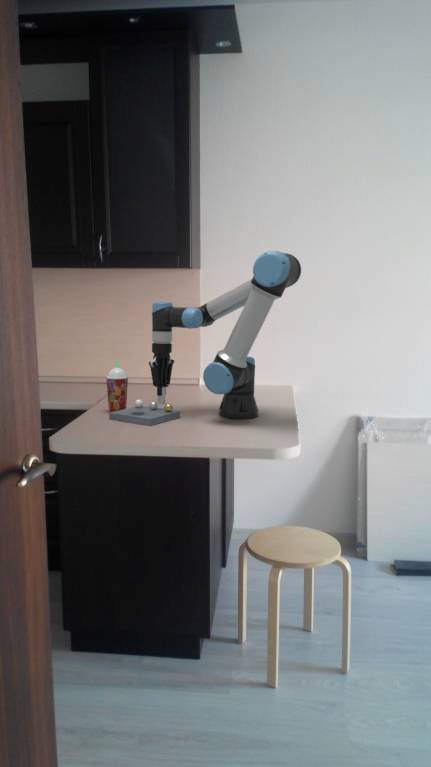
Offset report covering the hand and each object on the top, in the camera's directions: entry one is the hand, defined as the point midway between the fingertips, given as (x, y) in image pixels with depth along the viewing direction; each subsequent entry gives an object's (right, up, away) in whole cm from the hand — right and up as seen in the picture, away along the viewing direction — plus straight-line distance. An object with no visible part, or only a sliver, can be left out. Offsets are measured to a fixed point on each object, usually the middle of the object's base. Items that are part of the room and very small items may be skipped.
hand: (161, 403), depth 226 cm
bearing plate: (-5, -5, -8) cm, 11 cm away
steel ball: (-3, -1, -5) cm, 5 cm away
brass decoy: (+3, -1, -8) cm, 9 cm away
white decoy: (-8, 0, -1) cm, 9 cm away
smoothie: (-18, -3, +4) cm, 18 cm away
